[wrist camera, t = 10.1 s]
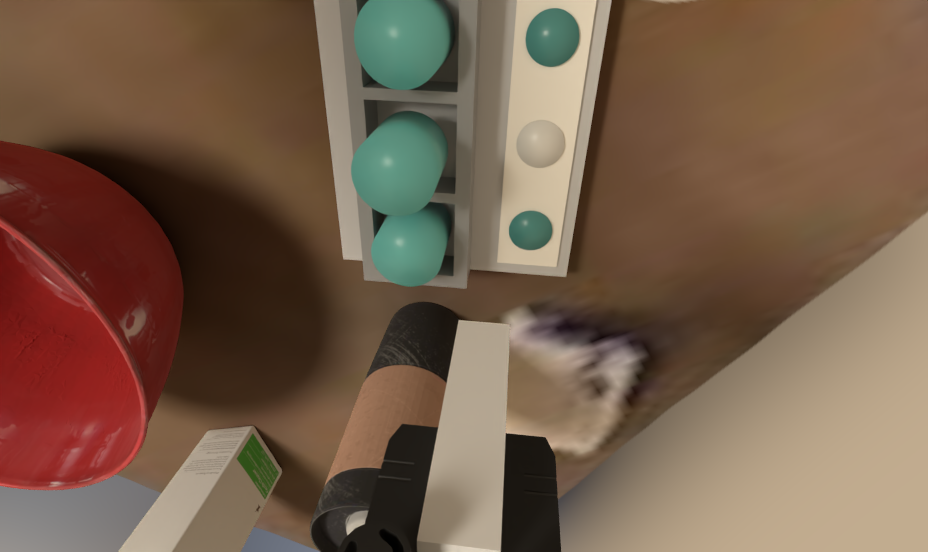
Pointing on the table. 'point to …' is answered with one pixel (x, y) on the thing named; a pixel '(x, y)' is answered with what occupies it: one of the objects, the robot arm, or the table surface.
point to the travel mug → (386, 414)
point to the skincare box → (211, 496)
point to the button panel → (480, 129)
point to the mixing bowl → (78, 321)
